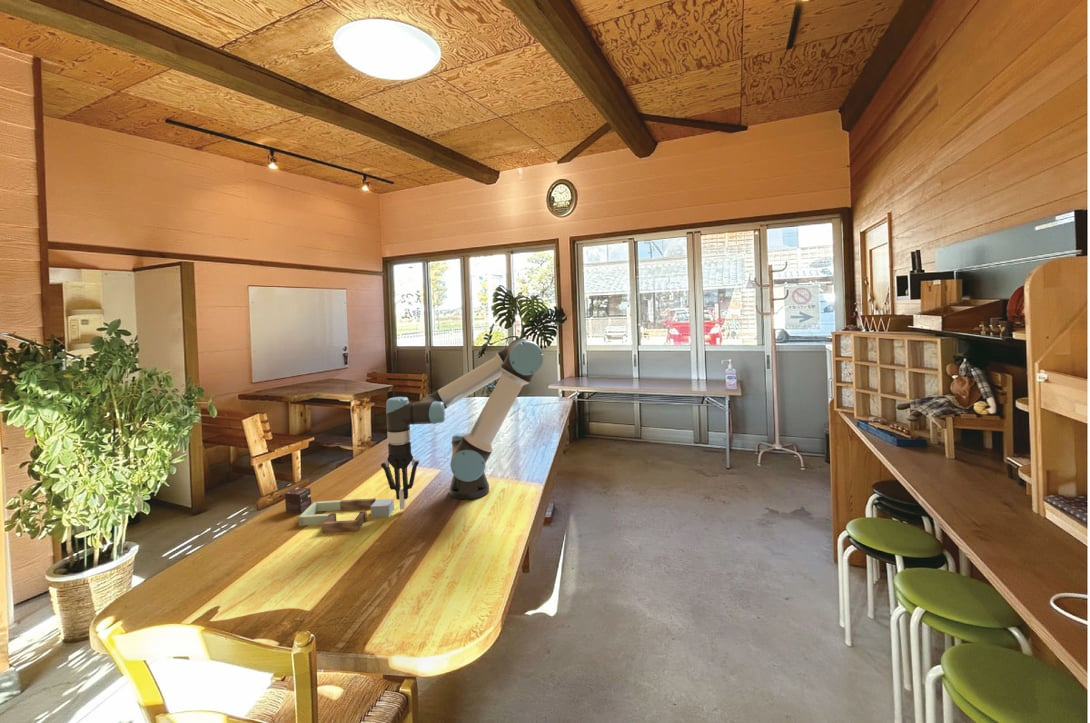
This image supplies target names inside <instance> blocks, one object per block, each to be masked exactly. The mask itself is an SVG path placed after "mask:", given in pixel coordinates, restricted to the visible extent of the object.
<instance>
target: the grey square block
mask: <svg viewBox="0 0 1090 723" xmlns="http://www.w3.org/2000/svg"><path fill="white" fill-rule="evenodd" d="M393 511H395V501H394V498H385V499H383V498H382V499H379V498H378V499H376V501H375V502H374V503H373V504H372V506H371V508H370V516H371V518H382V517H383V518H385V517H386V518H387V517H390V516H391V514H392V513H393Z"/></svg>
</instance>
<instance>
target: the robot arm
mask: <svg viewBox="0 0 1090 723" xmlns="http://www.w3.org/2000/svg"><path fill="white" fill-rule="evenodd" d="M543 363H544V353H543V351H542V349H541V347H540V346H539V344H538V343H536V342H535V341H532V340H530V339H526V338H519V339H516V340H514V341H513V342H511V343H510V344H509V345H507V346H506V347H504V348H502V349H501V350H500V351H498V352H496V354H495V356H494V357H493V358H490V360H488V361H485V362H484V363H483V364H481V365H479V366H477V367H475V368H474V369H472V370H470V371H469V372H467V373H466V374H464V375H461V376H460V377H458V378H456V379H455V380H453V381H451V382H449V383H448V384H446V385H444V386H443V387H440V388H439V389H437V390H436V391H434V392H432V393H430V394H427V395H425V396H423V398H422V399H421V400H420V402H410V401H409V398H408V397H407V396H395V397H390V398H388V399H387V400H386V403H385V405H386V407H385V410H386V411H385V414H386V415H385V416H386V417H385V418H386V432H387V433H386V436H387V443H388V444H387V448H388V449H387V450H388V451H387V452H388V456H387V459H386V460H384V461H383V462H382V463H381V464H380V467H381V468H382V469H383V471H384V473H385V477H386V479H387V483H388V486H389V489H390V490H393V491H395V496H396V500H398V501H399V510H405V508H406V506H407V503H406V502H407V501H406V500H408V497H409V490H410V489H412V488H413V486H414V482H415V478H416V472H417V469H418V466H419V464H420V459H416V458H414V455H413V454H412V443H411V425H430V424H433V425H435V424H443V423H444V422H445V416H446V412H445V411H446V409H448V408H449V407H451V406H453V405H454V404H456V403H458V402H459V401H461V400H463V399H464V398H467V397H469V396H470V395H472V394H473V393H475V392H477V391H479V390H480V389H482V388H484V387H486V386H487V385H489V384H491V383H493V382H494V381H496V380H497V382H496V384H495V385H494V387H493V389H492V391H491V393H490V394H489V397H488V399H487V401H486V402H485V404H484V406H483V408H482V410H481V412H480V414H479V416H478V417H477V419H476V421H475V423H474V425H473V427H472V428H471V429H470V431H469V432H463V433H457V434H454V435H453V436H452V437H451V445H452V446H451V449H452V451H451V458H450V465H449V466H450V470H451V472H452V474H453V475H452V478H451V482H450V485H449V496H450V497H452V498H454V499H457V500H474V499H477V498H481V497H484V496H486V495H487V494H489V493H490V484H489V481H488V479H487V476H486V474H485V470H486V463H487V462H488V460H489V458H490V456H491V454H492V452H493V446H492V443H493V442H494V439H495V438H496V436H497V435H498V432H499V430H500V429H501V427H502V426H503V423H504V421H505V420H506V418H507V416H508V414H509V412H510V410H511V409H512V407H513V405H514V403H515V401H516V400H517V398H518V396H519V395H520V392H521V391H522V388H523V386H525V385H529V384H530V382H531V381H532V379H533V377H534V376H535V374H536V373H537V372H538V371H539V370H540V369H541V367H542V365H543ZM410 464H411V465H412V468H411V473H410V478H409V481H408V467H409V465H410ZM390 465H391V467H392V468H393V471H394V477H393V474H392V470H391V468H390ZM400 469H401V471H400ZM401 474H402V475H401ZM401 476H402V485H401ZM401 487H402V488H401Z"/></svg>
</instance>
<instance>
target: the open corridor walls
mask: <svg viewBox="0 0 1090 723" xmlns="http://www.w3.org/2000/svg"><path fill="white" fill-rule="evenodd" d="M340 500H341V499H340ZM376 500H377V499H376V497H375V498H359V499H358V498H357V499H342V500H341V501H340V509H341V510H340V511H346V510H348V511H349V510H360V509H366V510H367V509H371V506H372V504H373V503H374V502H375V501H376ZM328 514H329V515H328V518H327V519H326V520H325V521H324V523H323V524H322V525H321V527H322V534H325V533H326V534H329V533H330V534H331V533H345V532H359V531H360V530H361V528H362V526H363V524H365V523H367V521H368V512H367V511H360V512H359V513H358V515H356V517H355V518H354V519H353V520H337V514H336V513H328Z"/></svg>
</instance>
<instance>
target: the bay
mask: <svg viewBox="0 0 1090 723" xmlns="http://www.w3.org/2000/svg"><path fill="white" fill-rule="evenodd" d="M340 501H341V499H339V500H323V501H320V500H319V501H313V502H311V503H312V504H311V505H310V506H309V507H308V508H307V509H306V510H305V511H304V512H303V513H301V514H299V516H298V527H305V525H308V526H322V524H323V523H324V521H325V520H326V519H327V518H328V515H329V514H330V513H320V514H319V513H318V512H329V511H331V512H332V511H342V510H341V509H340Z"/></svg>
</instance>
